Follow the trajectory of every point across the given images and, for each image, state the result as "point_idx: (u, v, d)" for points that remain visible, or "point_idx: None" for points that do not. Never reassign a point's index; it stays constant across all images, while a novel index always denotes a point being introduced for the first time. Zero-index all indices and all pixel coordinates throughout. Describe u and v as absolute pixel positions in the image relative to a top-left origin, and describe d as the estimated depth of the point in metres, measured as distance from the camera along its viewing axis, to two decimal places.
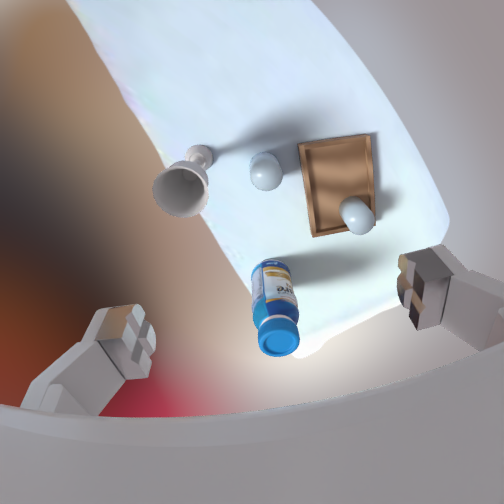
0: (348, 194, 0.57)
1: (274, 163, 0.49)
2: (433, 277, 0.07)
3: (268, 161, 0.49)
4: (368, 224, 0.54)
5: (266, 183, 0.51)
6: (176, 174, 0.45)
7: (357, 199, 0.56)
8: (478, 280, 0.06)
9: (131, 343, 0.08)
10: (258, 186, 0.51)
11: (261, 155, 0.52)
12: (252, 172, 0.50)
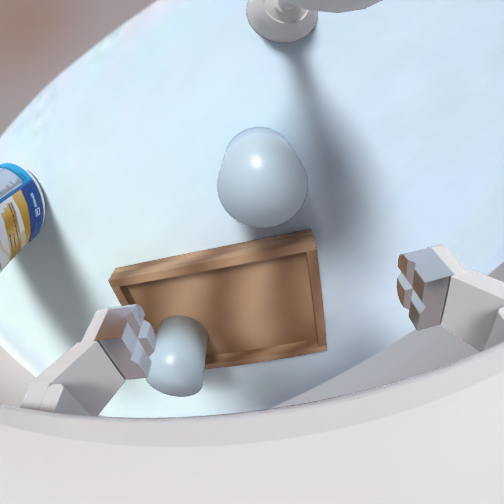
0: (210, 327, 0.31)
1: (297, 206, 0.19)
2: (433, 277, 0.07)
3: (304, 191, 0.18)
4: (171, 390, 0.27)
5: (239, 186, 0.18)
6: None
7: (206, 348, 0.30)
8: (478, 280, 0.06)
9: (131, 343, 0.08)
10: (230, 166, 0.17)
11: None
12: (273, 148, 0.17)
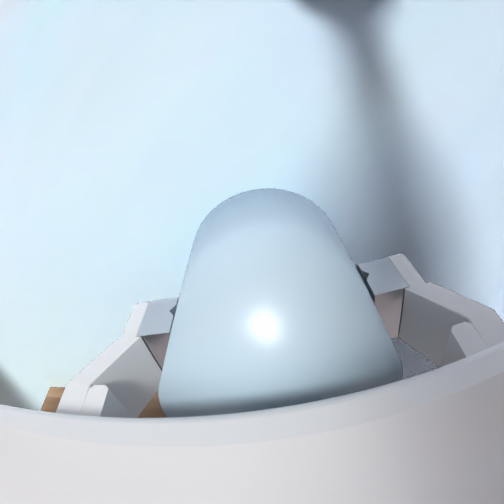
0: None
1: None
2: (385, 289, 0.07)
3: None
4: None
5: (221, 408, 0.06)
6: None
7: None
8: (435, 293, 0.07)
9: None
10: (188, 374, 0.05)
11: None
12: (327, 333, 0.05)
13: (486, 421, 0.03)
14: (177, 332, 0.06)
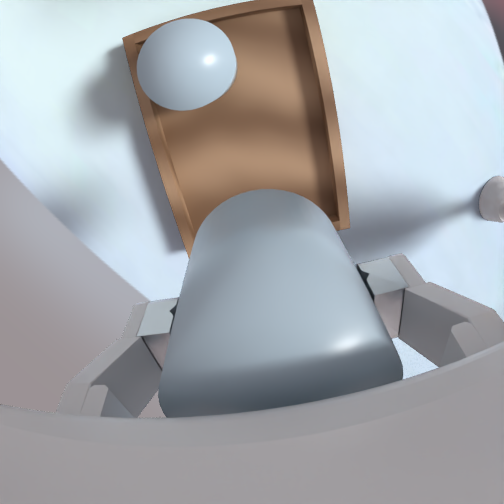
0: (214, 107, 0.21)
1: None
2: (385, 289, 0.07)
3: None
4: (155, 58, 0.14)
5: (221, 409, 0.06)
6: None
7: None
8: (435, 293, 0.07)
9: None
10: (188, 375, 0.05)
11: None
12: (328, 334, 0.05)
13: (486, 421, 0.03)
14: (177, 333, 0.06)
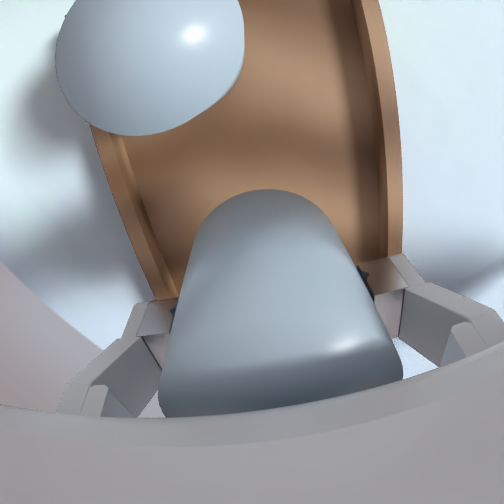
0: (207, 119, 0.13)
1: None
2: (385, 289, 0.07)
3: None
4: (87, 35, 0.06)
5: (220, 409, 0.06)
6: None
7: None
8: (435, 293, 0.07)
9: None
10: (187, 375, 0.05)
11: None
12: (327, 334, 0.05)
13: (486, 421, 0.03)
14: (176, 333, 0.06)
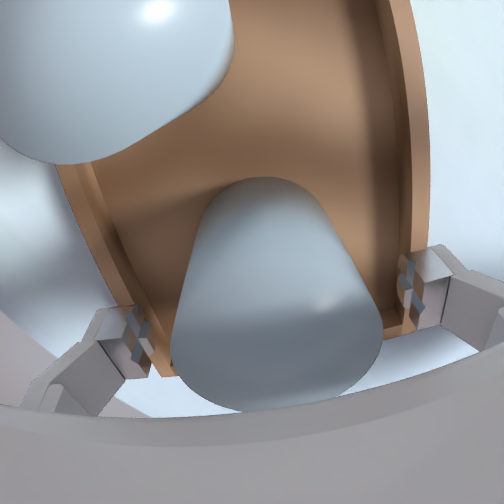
0: (188, 125, 0.10)
1: (350, 381, 0.08)
2: (433, 277, 0.07)
3: (370, 359, 0.07)
4: (7, 26, 0.03)
5: (224, 359, 0.07)
6: None
7: None
8: (478, 280, 0.06)
9: (131, 343, 0.08)
10: (197, 323, 0.07)
11: None
12: (313, 283, 0.06)
13: (486, 421, 0.03)
14: (188, 289, 0.07)
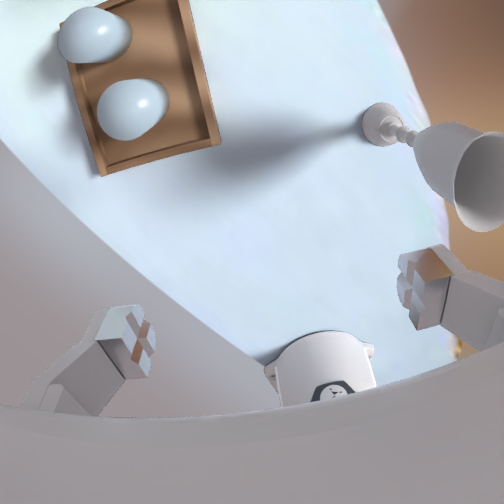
0: (117, 63, 0.25)
1: (149, 122, 0.23)
2: (433, 277, 0.07)
3: (153, 110, 0.23)
4: (67, 33, 0.18)
5: (110, 111, 0.22)
6: None
7: (99, 62, 0.23)
8: (478, 280, 0.06)
9: (131, 343, 0.08)
10: (104, 98, 0.22)
11: (163, 96, 0.25)
12: (130, 83, 0.21)
13: (486, 421, 0.03)
14: None
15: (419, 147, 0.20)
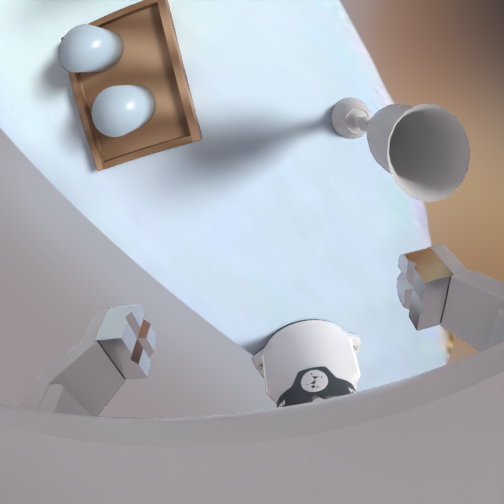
0: (111, 72, 0.29)
1: (135, 121, 0.27)
2: (433, 277, 0.07)
3: (137, 111, 0.26)
4: (67, 47, 0.22)
5: (103, 112, 0.26)
6: (407, 139, 0.25)
7: (95, 71, 0.27)
8: (478, 280, 0.06)
9: (131, 343, 0.08)
10: (97, 101, 0.26)
11: (149, 99, 0.29)
12: (118, 88, 0.25)
13: (486, 421, 0.03)
14: None
15: (367, 130, 0.23)
